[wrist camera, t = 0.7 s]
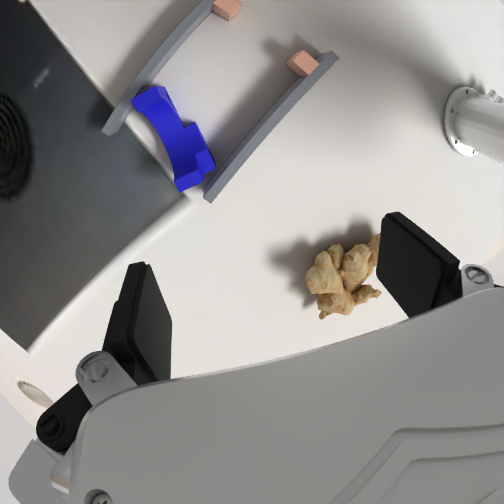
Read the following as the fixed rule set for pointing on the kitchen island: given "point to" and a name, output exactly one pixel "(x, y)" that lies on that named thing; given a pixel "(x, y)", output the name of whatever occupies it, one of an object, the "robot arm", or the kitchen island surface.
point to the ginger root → (343, 277)
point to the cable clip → (176, 138)
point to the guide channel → (309, 71)
